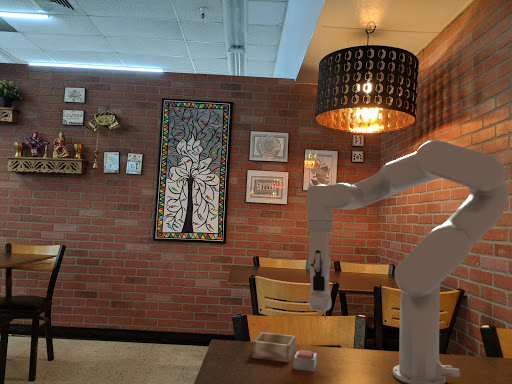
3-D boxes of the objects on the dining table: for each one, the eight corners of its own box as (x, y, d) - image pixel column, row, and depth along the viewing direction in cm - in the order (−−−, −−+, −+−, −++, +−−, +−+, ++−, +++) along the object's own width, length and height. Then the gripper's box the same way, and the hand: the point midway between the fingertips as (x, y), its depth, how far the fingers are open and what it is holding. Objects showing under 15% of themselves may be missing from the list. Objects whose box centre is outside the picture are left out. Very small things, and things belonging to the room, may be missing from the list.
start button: (312, 363, 110) (313, 351, 110) (311, 368, 107) (311, 355, 107) (299, 361, 111) (299, 349, 111) (297, 366, 108) (297, 354, 108)
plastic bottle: (333, 313, 114) (333, 242, 115) (309, 313, 114) (309, 242, 116) (329, 308, 120) (329, 241, 122) (307, 308, 121) (307, 241, 122)
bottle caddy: (294, 351, 121) (295, 335, 121) (289, 362, 112) (289, 345, 112) (260, 346, 124) (261, 332, 124) (252, 357, 114) (252, 341, 115)
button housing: (316, 364, 111) (316, 353, 111) (314, 371, 106) (314, 360, 106) (296, 361, 112) (297, 350, 112) (293, 369, 107) (293, 357, 107)
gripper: (310, 226, 128) (310, 283, 127) (303, 227, 112) (303, 293, 110) (334, 226, 126) (334, 284, 125) (330, 227, 110) (330, 294, 109)
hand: (319, 288), depth 118 cm, fingers closed on plastic bottle, 5 cm apart
